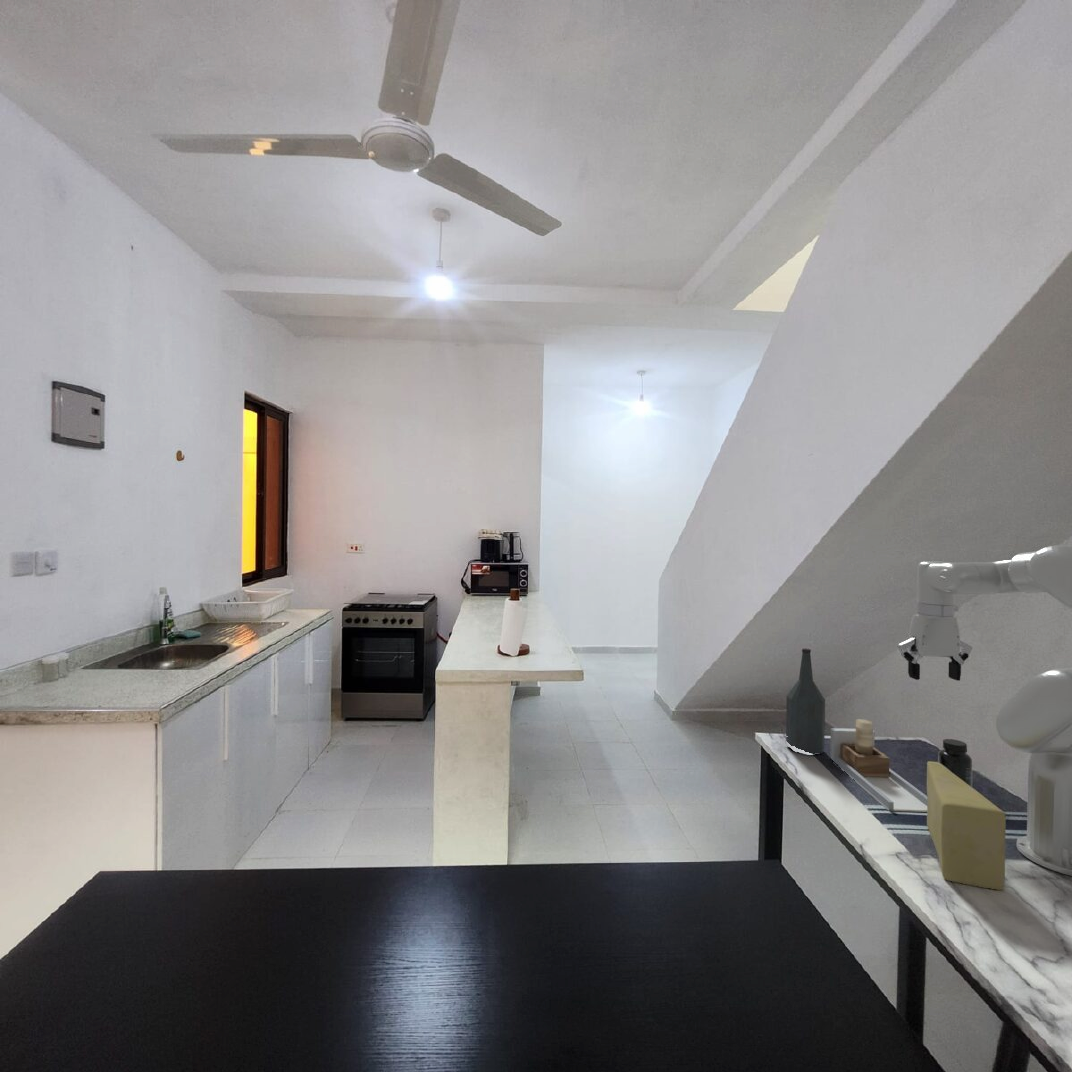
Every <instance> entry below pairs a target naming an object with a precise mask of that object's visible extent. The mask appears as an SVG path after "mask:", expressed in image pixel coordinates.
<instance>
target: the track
mask: <svg viewBox="0 0 1072 1072" xmlns="http://www.w3.org/2000/svg"><path fill="white" fill-rule="evenodd" d="M875 734H876V733H875V731H874V730H873V747H875V737H876V735H875ZM855 739H856V728H844V727H843V728H840V727H839V728H838V727H831V728H830V742H829V743H830V744H829V745H830V747H829V748H830V750H829V751H830V753H829V759H830V758H831V759H832V760H833V761H835V762H836V763H837V764H838V765H839V766H840V767H841V769H840V770H841V771H843V772H844V771H845V772H846V773H847V774H848V775H849V776H848V775H847V774H846V773H845V772H844V773H845V774H846V775H847V776H848V777H849V778H851V779H852V780H853V779H854V780H855V781H854V780H853V781H854V782H855V783H856V784H858V786H860V787H861V789H863V790H864V791H865V792H866V793H868V794H869V795H870V796H871V797H872V798H874V800H876V802H878V803H879V804H880V805H882V806H883V807H884V808H885V809H886V810H887V811H888V812H912V813H913V812H914V813H916V812H917V813H927V794H925V793H923V792H922V791H921V790H919V789H918V788H917V787H916V786H914V785H913V784H912V783H910V782H909V781H907V780H906V779H904V778H903V777H902V776H900V775H899V774H898V773H897V772H895V771H894V770H892V769H891V768H890V767H889V777H875V776H862V775H860V774H859V773H858V772H857V771H856V770H854V769H853V768H852V767H851V766H850V765H848V764H847V763H846V762H845V761H844V760H842V759H841V758H840V752H841V744H855Z"/></svg>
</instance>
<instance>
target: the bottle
mask: <svg viewBox="0 0 1072 1072" xmlns="http://www.w3.org/2000/svg"><path fill="white" fill-rule="evenodd" d="M811 652H812V650H811V649H810V648H802V649H801V661H800V670H799V677H798V680H797V681H796V683H795V684H794V685H793V687H792V688H791V689H790V691H789V693H788V694H787V695H786V712H785V713H786V714H785V715H786V716H785V718H786V719H785V720H786V721H785V725H786V726H785V727H786V728H785V742H786V741H787V742H788V743H789V744H790V745H791V746H795V747H796V748H798V749H801V750H804V751H805V752H809V753H813V754H815V753H821V754H822V753H823V752H824V750H825V737H826V736H825V729H826V728H825V726H826V725H825V724H826V699H825V698H824V696H823V694H822V693H821V691H820V690H819V688H818V686H817V685H816V683H815V682H814V679H813V676H814V675H813V668H812V659H811V658H812V657H811ZM786 736H788V737H786Z"/></svg>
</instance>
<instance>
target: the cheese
mask: <svg viewBox="0 0 1072 1072" xmlns="http://www.w3.org/2000/svg"><path fill="white" fill-rule="evenodd" d="M926 796H927V812H926V826H927V828H928V831H929V834H930V838H931V839H932V841H933V842H932V843H933V844H934V848H935V851H936V853H937V857H938V860H939V864H940V868H941V874H942V877H943V879H944V880H946V881H948V882H951V881H952V883H957V884H961V883H962V885H966V884H967V886H972V885H973V886H972V887H977V886H978V887H979V888H982V887H983V888H984V889H988V888H991V889H990V890H994V889H996V891H1002V890H1004V889H1005V878H1006V876H1005V874H1006V873H1005V872H1006V869H1005V868H1006V866H1005V865H1006V828H1007V827H1006V826H1007V824H1006V821H1007V819H1006V818H1007V817H1006V812H1005V811H1003V810H1002V809H1000V808H999V807H998V806H997V805H995V804H994V803H993V802H991V801H990V800H989V799H988V798H986V797H985V796H984V795H982V794H981V793H980V792H978V791H977V790H976V789H975V788H973V786H972V787H971V786H969V785H968V784H967V783H965V782H964V781H963V780H961V779H960V778H959V777H957V776H956V775H955V774H953V773H952V772H951V771H950V770H948V769H947V768H946V767H945V766H943V765H942V764H940V763H938V761H927V763H926ZM978 887H977V888H978Z"/></svg>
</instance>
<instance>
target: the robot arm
mask: <svg viewBox="0 0 1072 1072" xmlns="http://www.w3.org/2000/svg"><path fill="white" fill-rule="evenodd" d="M916 574H917V577H916V578H917V582H916V584H917V586H916V589H917V590H916V614H912V618H911V621H910V626H909V632H908V639H906V640H905V641H902V642H901V643H900V642H899V643H898V644H897V648H898V650H899V652H900V654H901V656H902V657H903V658H904V659H905V660H906V662H908V663H907V673H908V676H909V677H908V678H911V679H914V680H916V681H918V680H920V678H921V675H920V674H921V672H920V671H921V665H920V663H918V662H919V661H921V659H922V658H923V657H928V658H930V657H932V658H933V657H937V658H949V660H950V661H949V662H948V678H950V679H952V680H955V681H959V682H960V681H961V676H962V665H964V663H965V661H966V660H967V659H968V658H969V656H970V654H971V652H972V650H973V646H972V645H969V644H968V643H965V642H964V641H962V640H961V637H960V627H959V623H958V619H957V617H956V616H955V612H956V613H957V612H959V606H955V595H980V594H981V595H992V594H993V595H994V594H1009V593H1026V594H1033V593H1034V594H1037V593H1047V594H1049V596H1051V597H1052V598H1054V599H1055V600H1056V601H1058V602H1059V603H1061V604H1062V605H1064V606H1066V607H1067V608H1068V609H1070V610H1071V611H1072V544H1057V545H1048V546H1046V547H1043V548H1041V549H1039V550H1035V551H1027V552H1026V551H1025V552H1020V553H1018V554H1016V555H1014V556H1013V557H1012V558H1011V559H1009V560H999V561H989V562H988V561H986V562H983V561H982V562H980V561H972V562H971V561H970V562H968V561H966V562H965V561H964V562H958V561H957V562H956V561H955V562H949V561H942V560H941V561H938V560H935V561H934V560H931V561H930V560H926V561H925V560H924V561H921V562H919V563H918V565H917V573H916ZM995 716H996V717H995V721H994V722H995V729H996V731H997V735H998V736H999V737H1000V739H1001V740H1002V741H1003V743H1005V744H1006V745H1008V746H1009V747H1011V748H1012V749H1013V750H1017V751H1018V752H1022V753H1030V756H1029V759H1028V760H1029V761H1028V768H1027V769H1028V772H1027V805H1026V806H1027V810H1026V812H1027V813H1026V835H1023V836H1020V837H1018V838H1017V839H1016V848H1017V850H1018V851H1019V852H1020V853H1021V854H1022V855H1023V856H1024V857H1025V858H1027V859H1028V860H1030V861H1031V862H1034V863H1036V864H1037V865H1040V866H1041V867H1044V868H1046V869H1048V870H1050V871H1053V872H1057V873H1060V874H1063V875H1067V876H1071V877H1072V667H1063V668H1053V669H1050V670H1047V671H1044V672H1041V673H1040V674H1038V675H1036V676H1035V677H1033V678H1032V679H1030V681H1028V682H1027V683H1026V684H1025V685H1024V686H1023V687H1022V688H1020V689H1019V690H1018V691H1016V693H1015V694H1013V695H1012V696H1011V697H1010V698H1008V699H1007V700H1006V701H1005V702H1004V704H1002V705H1001V706H1000V708H999V709H998V711H997V713H996V715H995Z"/></svg>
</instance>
